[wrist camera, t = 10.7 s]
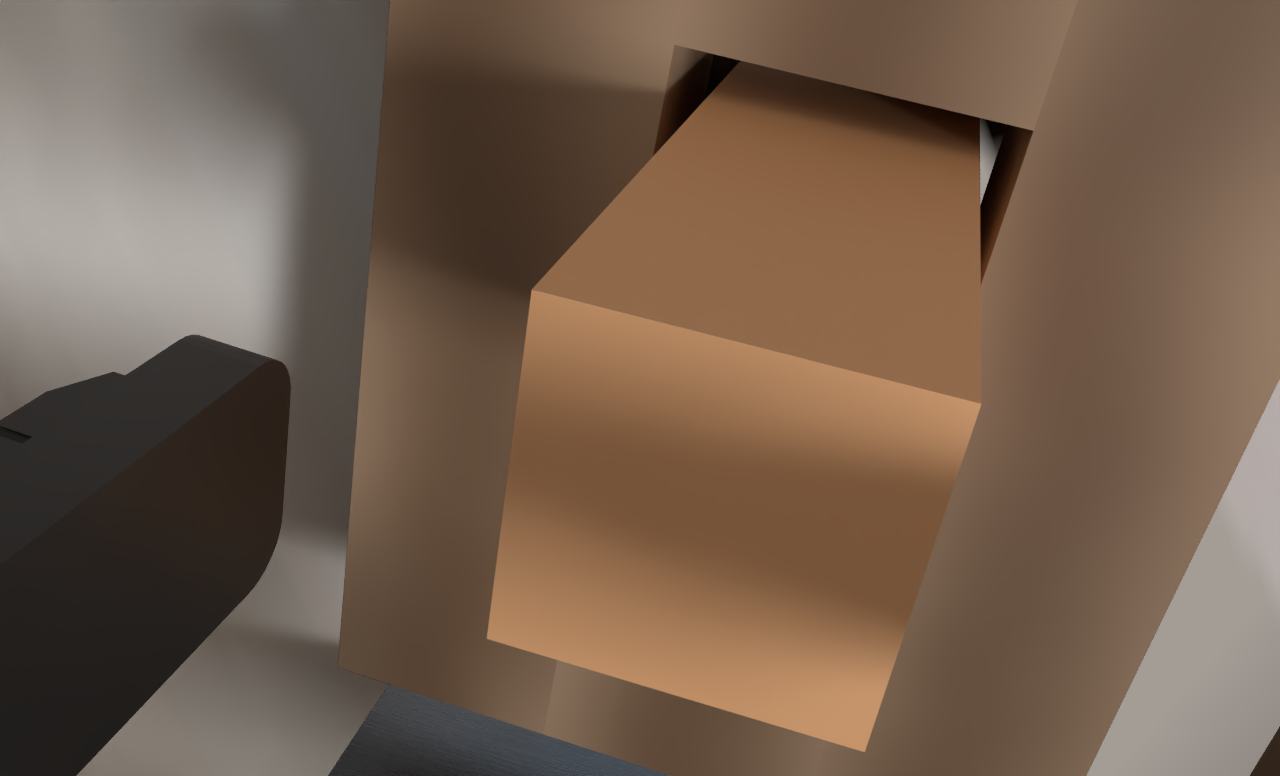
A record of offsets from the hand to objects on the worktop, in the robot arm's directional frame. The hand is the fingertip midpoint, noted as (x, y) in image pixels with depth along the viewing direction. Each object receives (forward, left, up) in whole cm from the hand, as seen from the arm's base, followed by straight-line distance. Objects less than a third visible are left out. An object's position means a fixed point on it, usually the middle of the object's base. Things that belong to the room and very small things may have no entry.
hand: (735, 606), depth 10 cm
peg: (0, +1, -14) cm, 14 cm away
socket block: (+1, +4, -14) cm, 14 cm away
